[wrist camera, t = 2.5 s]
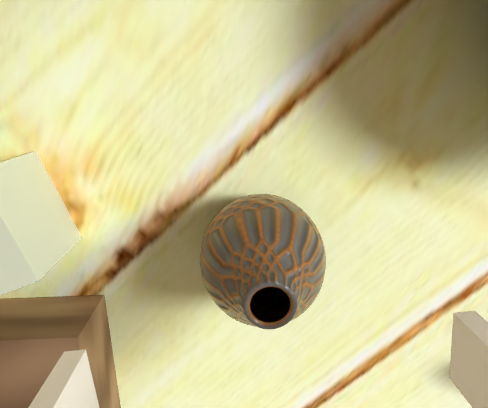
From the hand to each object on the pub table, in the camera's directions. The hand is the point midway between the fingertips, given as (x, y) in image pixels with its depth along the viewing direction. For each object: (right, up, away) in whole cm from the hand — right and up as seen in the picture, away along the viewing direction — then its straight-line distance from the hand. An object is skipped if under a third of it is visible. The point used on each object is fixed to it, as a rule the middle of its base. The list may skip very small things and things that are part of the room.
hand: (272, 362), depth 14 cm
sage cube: (-15, +5, +11) cm, 19 cm away
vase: (0, +4, +12) cm, 12 cm away
